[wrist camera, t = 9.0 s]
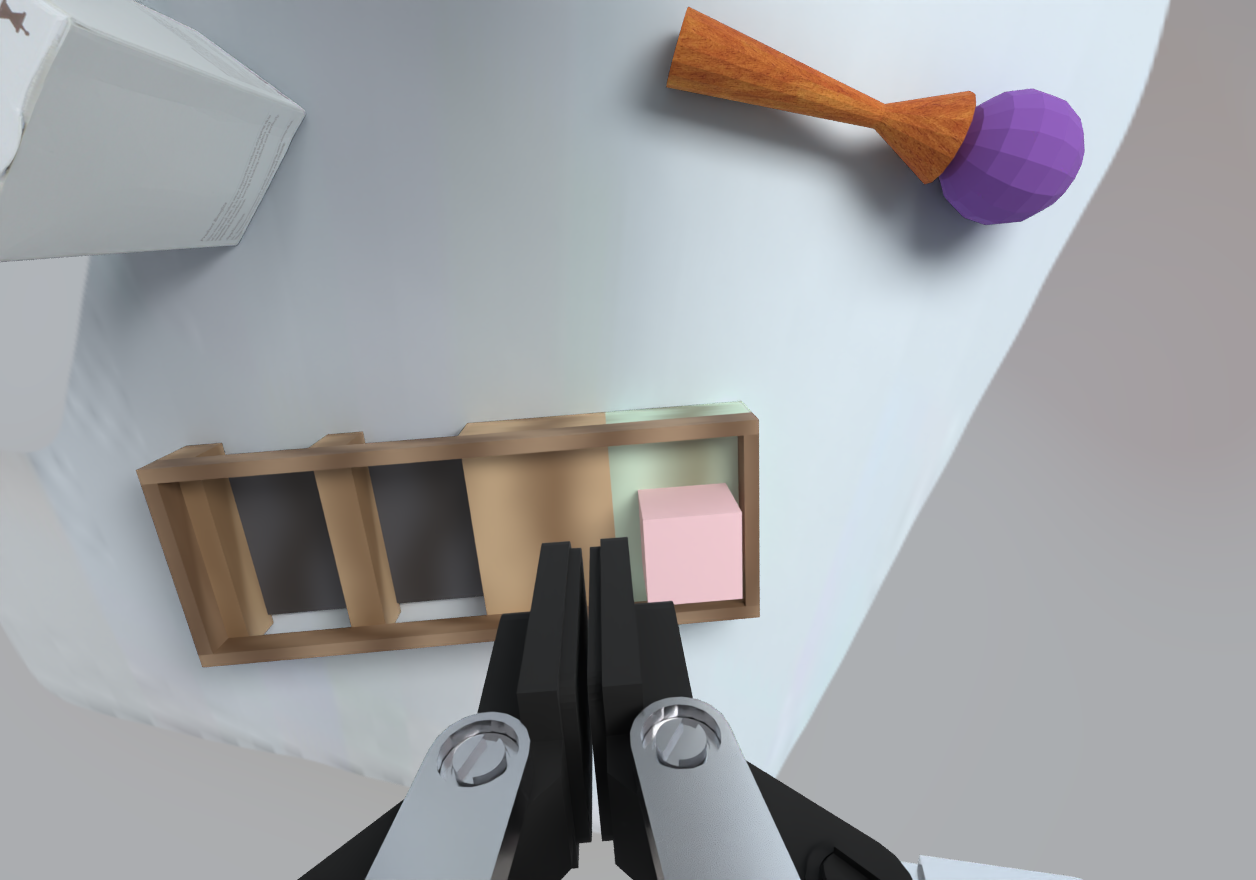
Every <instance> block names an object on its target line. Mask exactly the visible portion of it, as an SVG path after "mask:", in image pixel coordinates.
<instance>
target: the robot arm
mask: <svg viewBox="0 0 1256 880" xmlns="http://www.w3.org/2000/svg"><path fill="white" fill-rule="evenodd" d="M592 744H593V754H594V764H595V774H596V784H597V795H598V805H599V815H600V825H601V835H602V841H610V840H613V843H614V854H615V864H616V865H617V866H618V867H619V868H620V869H622V870H623V871H624V872H625V873H626V874H627V875H628V876H629V877H631V878H632V879H633V880H1083V879H1080V878H1077V877H1071V876H1065V875H1058V874H1051V873H1043V872H1036V871H1029V870H1022V869H1015V868H1008V867H1001V866H994V865H987V864H980V863H973V862H966V861H959V860H952V859H945V858H938V857H931V856H924V855H919V861H918V864H914V863H908V862H901V861H899V859H898V858H897V857H896V856H895V855H894V854H893V853H891V852H890V851H889V850H888V849H886V848H885V847H884V846H882V845H881V844H880V843H879V842H877V841H875V840H874V839H872V838H871V837H869V836H867V835H866V834H864V833H862V832H861V831H859V830H858V829H856V828H854V827H853V826H851V825H850V824H848V823H846V822H845V821H843V820H841V819H840V818H838V817H837V816H835V815H833V814H832V813H830V812H828V811H827V810H825V809H824V808H822V807H820V806H819V805H817V804H816V803H814V802H812V801H810V800H809V799H807V798H806V797H804V796H803V795H801V794H799V793H798V792H796V791H795V790H793V789H791V788H790V787H788V786H786V785H785V784H783V783H782V782H780V781H778V780H777V779H775V778H774V777H772V776H770V775H769V774H767V773H766V772H764V771H762V770H761V769H759V768H757V767H756V766H754V765H753V764H751V763H749V762H748V761H746V760H745V757H744V755H743V753H742V751H741V749H740V747H739V744H738V742H737V740H736V738H735V736H734V733H733V731H732V729H731V727H730V725H729V723H728V722H727V720H726V719H725V717H724V716H723V715H722V713H720V712H719V711H718V710H717V709H715V708H714V707H713V706H712V705H710V704H708V703H705V702H703V701H701V700H698V699H694V698H693V697H692V692H691V687H690V682H689V677H688V672H687V667H686V662H685V657H684V652H683V647H682V642H681V637H680V632H679V627H678V622H677V617H676V612H675V607H674V603H673V601H662V602H649V603H636V604H634V596H633V586H632V576H631V565H630V555H629V545H628V537H619V538H605V539H600V546H596V547H590V560H589V612H588V611H587V600H586V590H585V579H584V568H583V558H582V549H581V548H571V543H570V541H564V542H550V543H542V545H541V550H540V556H539V562H538V568H537V574H536V580H535V586H534V592H533V598H532V604H531V610H530V612H518V613H504V614H502V615H501V618H500V621H499V625H498V629H497V633H496V637H495V642H494V646H493V650H492V654H491V658H490V663H489V667H488V671H487V675H486V679H485V684H484V688H483V692H482V696H481V700H480V705H479V709H478V713H477V714H474V715H471V716H468V717H465V718H463V719H461V720H459V721H457V722H456V723H454V724H452V725H450V726H449V727H448V728H447V729H445V730H444V731H443V732H442V733H441V734H440V735H439V736H438V737H437V738H436V740H435V741H434V742H433V744H432V745H431V747H430V748H429V750H428V752H427V754H426V756H425V758H424V760H423V762H422V764H421V766H420V768H419V770H418V772H417V775H416V777H415V779H414V781H413V783H412V785H411V787H410V789H409V791H408V793H407V795H406V797H405V799H404V800H402V801H401V802H400V803H398V804H397V805H396V806H394V807H393V808H392V809H390V810H389V811H388V812H386V813H385V814H384V815H382V816H381V817H380V818H379V819H377V820H376V821H375V822H373V823H372V824H371V825H369V826H368V827H367V828H365V829H364V830H363V831H361V832H360V833H359V834H358V835H356V836H355V837H353V838H352V839H351V840H349V841H348V842H347V843H346V844H344V845H343V846H342V847H340V848H339V849H338V850H336V851H335V852H334V853H332V854H331V855H330V856H328V857H327V858H326V859H324V860H323V861H322V862H320V863H319V864H318V865H316V866H315V867H314V868H312V869H311V870H310V871H308V872H307V873H306V874H304V875H303V876H302V877H300V878H299V879H298V880H561V879H562V878H563V877H564V876H565V875H566V874H567V873H568V871H570V869H572V868H578V860H579V843H587V842H591V841H592Z"/></svg>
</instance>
